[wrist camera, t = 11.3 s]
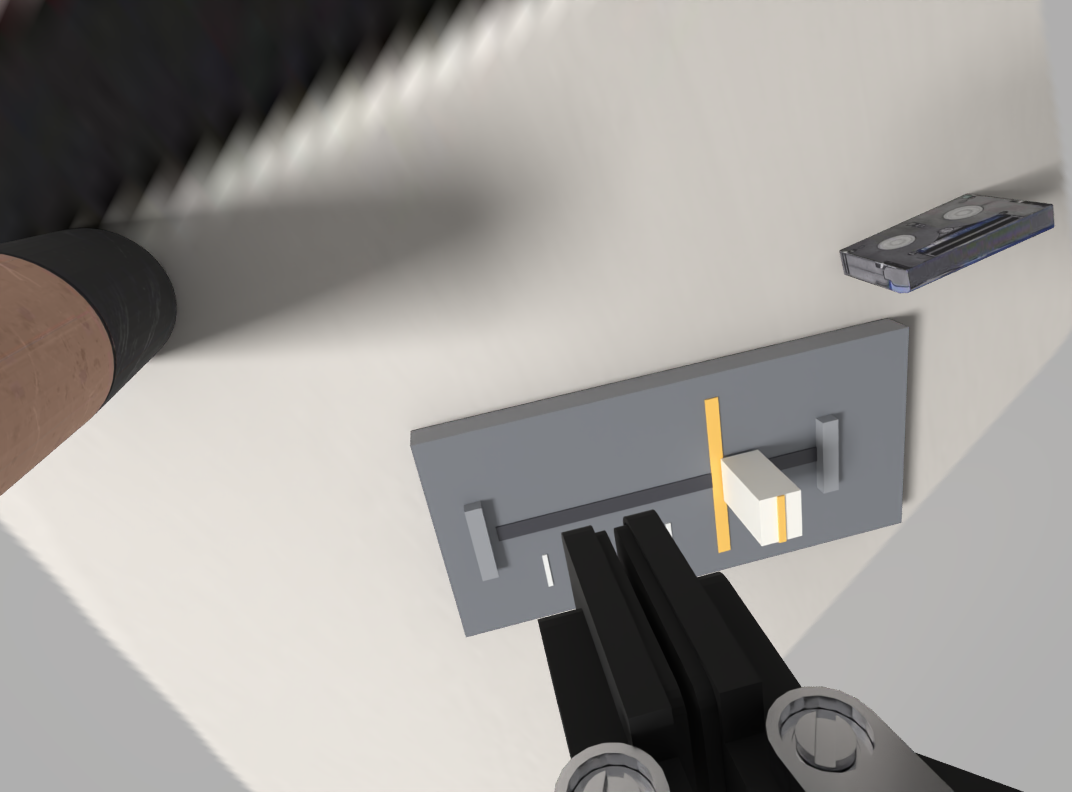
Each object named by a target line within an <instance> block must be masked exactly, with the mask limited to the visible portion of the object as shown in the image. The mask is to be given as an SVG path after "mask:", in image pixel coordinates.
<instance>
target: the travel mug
mask: <svg viewBox="0 0 1072 792" xmlns="http://www.w3.org/2000/svg"><path fill="white" fill-rule="evenodd" d="M175 319H176V299H175V294H174V290H173V287H172V285H171V282H170V280H169V278H168V276H167V274H166V273H165V271H164V270H163V268H162V267H161V266H160V264H159V263H158V262H157V261H156V260H155V259H154V258H153V257H152V256H151V255H150V254H149V253H148V252H147V251H146V250H144V249H143V248H142V247H140V246H139V245H137V244H136V243H134V242H133V241H131V240H129V239H127V238H125V237H123V236H120V235H117V234H115V233H112V232H108V231H104V230H99V229H91V228H79V229H69V230H63V231H57V232H52V233H48V234H43V235H39V236H34V237H29V238H25V239H20V240H16V241H11V242H6V243H2V244H0V496H1V495H2V494H3V493H4V492H6V491H7V490H8V489H9V488H10V487H11V486H13V485H14V484H15V483H16V482H17V481H18V480H20V479H21V478H22V477H23V476H24V475H25V474H27V473H28V472H29V471H30V470H31V469H32V468H34V467H35V466H36V465H37V464H38V463H39V462H41V461H42V460H43V459H44V458H45V457H46V456H48V455H49V454H50V453H51V452H52V451H53V450H55V449H56V448H57V447H58V446H59V445H60V444H62V443H63V442H64V441H65V440H66V439H67V438H69V437H70V436H71V435H72V434H73V433H74V432H76V431H77V430H78V429H79V428H80V427H81V426H83V425H84V424H85V423H86V422H87V421H88V420H90V419H91V418H92V417H93V416H94V415H95V414H96V413H97V412H98V411H99V410H100V409H101V408H102V407H103V406H104V405H105V404H106V403H107V402H108V401H109V400H110V399H111V398H112V397H113V396H114V395H115V394H116V393H117V392H118V391H119V390H120V389H121V388H122V387H123V386H124V385H125V384H126V383H127V382H128V381H129V380H130V379H131V378H132V377H133V376H134V375H135V374H136V373H137V372H138V371H139V370H140V369H141V368H142V367H143V366H144V365H145V364H146V363H147V362H148V361H149V360H150V359H151V358H152V357H153V356H154V355H155V354H156V353H157V352H158V351H159V350H160V349H161V348H162V346H163V345H164V344H165V342H166V341H167V340H168V338H169V336H170V334H171V332H172V330H173V327H174V324H175Z"/></svg>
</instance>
